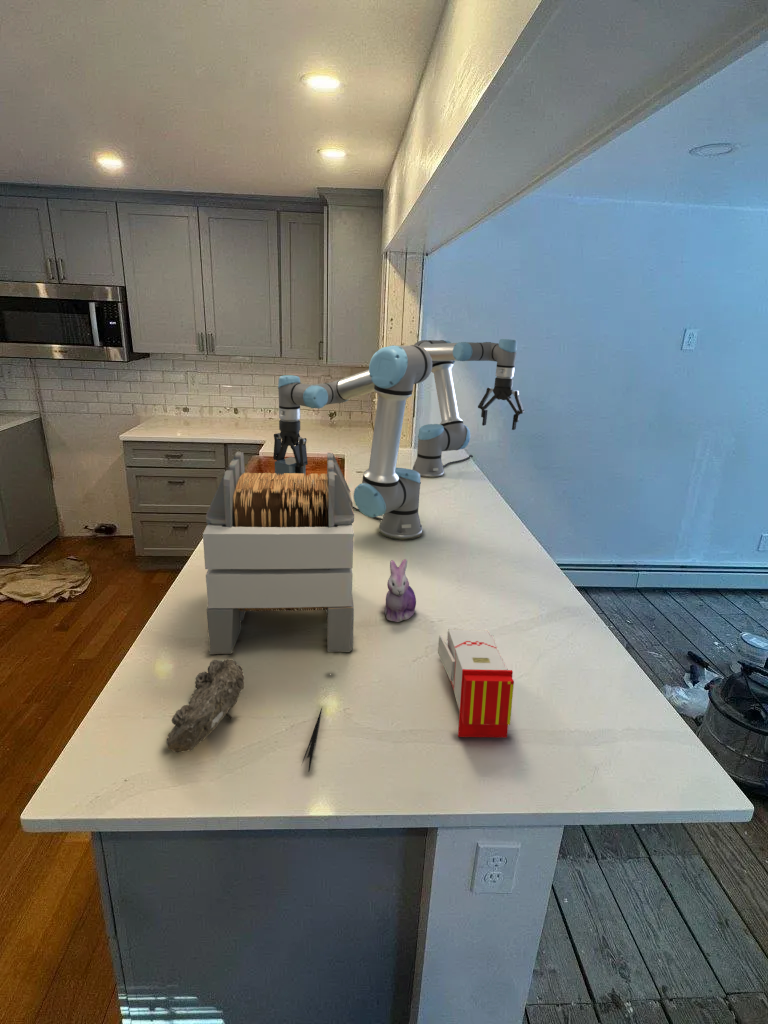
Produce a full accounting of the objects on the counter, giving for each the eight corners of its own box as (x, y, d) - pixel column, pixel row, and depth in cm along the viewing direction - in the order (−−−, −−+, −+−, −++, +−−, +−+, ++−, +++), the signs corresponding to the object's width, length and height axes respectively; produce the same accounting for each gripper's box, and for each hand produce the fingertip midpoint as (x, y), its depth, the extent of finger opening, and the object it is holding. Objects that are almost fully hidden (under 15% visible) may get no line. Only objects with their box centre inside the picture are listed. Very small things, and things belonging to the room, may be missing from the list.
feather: (331, 679, 122) (336, 673, 122) (307, 777, 96) (313, 769, 95) (324, 675, 122) (329, 669, 121) (298, 772, 95) (304, 764, 95)
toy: (488, 613, 130) (523, 677, 101) (484, 667, 133) (517, 744, 104) (435, 612, 130) (455, 676, 101) (432, 666, 133) (451, 743, 103)
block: (275, 486, 209) (274, 461, 206) (291, 480, 217) (291, 456, 214) (289, 489, 206) (289, 464, 203) (305, 484, 213) (305, 459, 210)
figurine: (392, 627, 141) (395, 572, 136) (374, 608, 149) (376, 556, 144) (425, 619, 145) (429, 566, 140) (405, 601, 154) (408, 550, 149)
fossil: (192, 660, 117) (244, 628, 112) (224, 691, 120) (276, 661, 115) (142, 746, 98) (202, 712, 93) (182, 779, 101) (242, 748, 96)
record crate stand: (229, 585, 158) (221, 442, 144) (346, 584, 161) (350, 444, 148) (206, 656, 126) (193, 481, 112) (353, 652, 130) (358, 483, 116)
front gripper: (261, 417, 205) (263, 478, 213) (304, 425, 195) (304, 488, 203) (275, 414, 211) (277, 474, 219) (318, 422, 201) (318, 483, 209)
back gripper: (473, 375, 242) (468, 424, 250) (530, 381, 230) (523, 432, 238) (480, 374, 248) (475, 422, 256) (535, 379, 236) (529, 430, 244)
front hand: (290, 481), depth 211 cm, fingers closed on block, 7 cm apart
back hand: (498, 427), depth 247 cm, fingers open, 13 cm apart
